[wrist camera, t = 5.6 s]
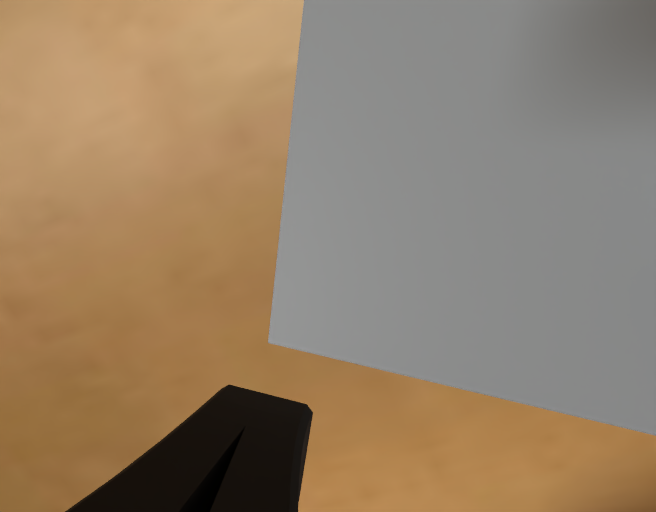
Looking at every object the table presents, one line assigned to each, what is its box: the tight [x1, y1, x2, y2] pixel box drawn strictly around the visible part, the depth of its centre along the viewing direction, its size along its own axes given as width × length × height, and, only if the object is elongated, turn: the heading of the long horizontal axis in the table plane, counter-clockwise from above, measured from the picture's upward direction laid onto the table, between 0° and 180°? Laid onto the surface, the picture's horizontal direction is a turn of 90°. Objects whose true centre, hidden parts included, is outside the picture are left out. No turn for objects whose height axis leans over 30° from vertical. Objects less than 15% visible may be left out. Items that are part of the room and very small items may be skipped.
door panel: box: [268, 0, 656, 435], centre depth 14 cm, size 13×14×3 cm
